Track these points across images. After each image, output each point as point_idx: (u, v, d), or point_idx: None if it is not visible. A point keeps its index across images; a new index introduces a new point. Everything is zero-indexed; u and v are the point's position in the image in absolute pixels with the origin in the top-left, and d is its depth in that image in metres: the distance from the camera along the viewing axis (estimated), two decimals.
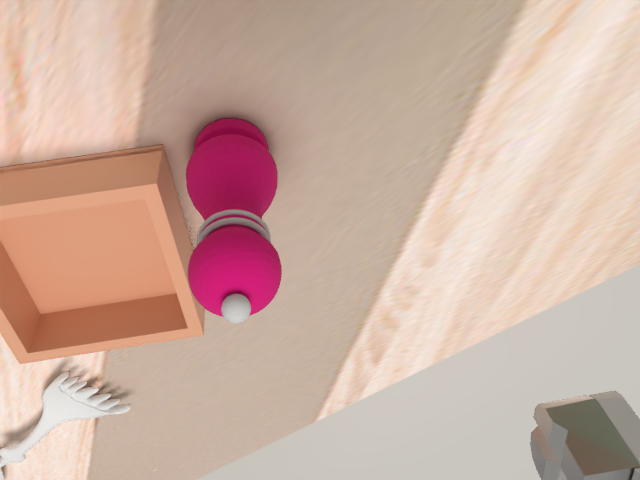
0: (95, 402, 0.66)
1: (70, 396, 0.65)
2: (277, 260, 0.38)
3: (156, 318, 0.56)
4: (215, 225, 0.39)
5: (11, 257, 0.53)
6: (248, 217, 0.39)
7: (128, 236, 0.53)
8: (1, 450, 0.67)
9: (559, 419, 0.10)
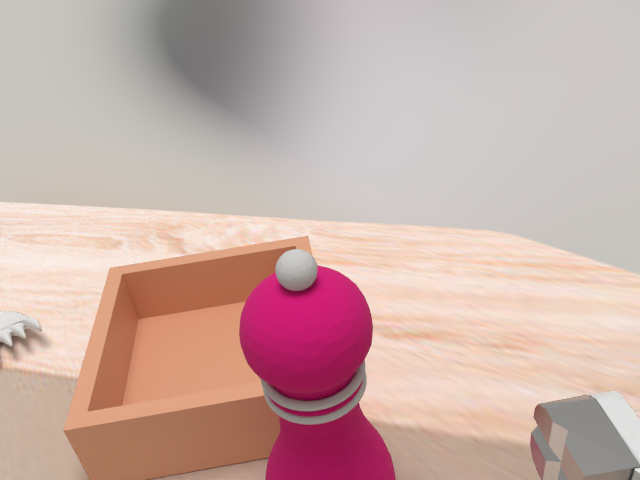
0: None
1: None
2: (331, 364, 0.24)
3: (105, 395, 0.41)
4: None
5: (221, 306, 0.52)
6: (359, 388, 0.27)
7: None
8: None
9: (559, 419, 0.10)
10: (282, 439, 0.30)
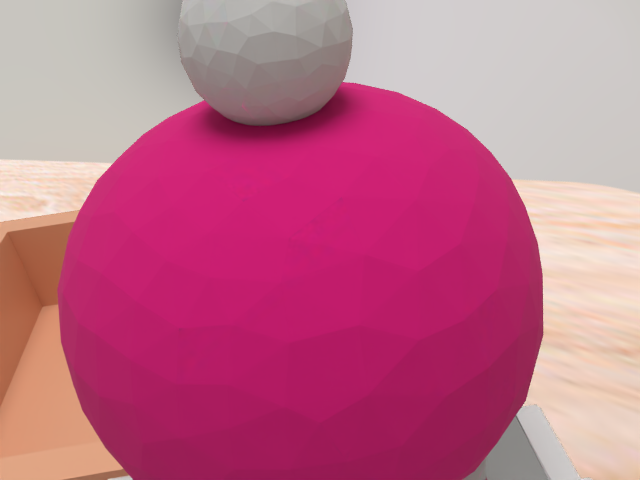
0: None
1: None
2: (420, 436, 0.05)
3: None
4: None
5: None
6: None
7: None
8: None
9: None
10: None
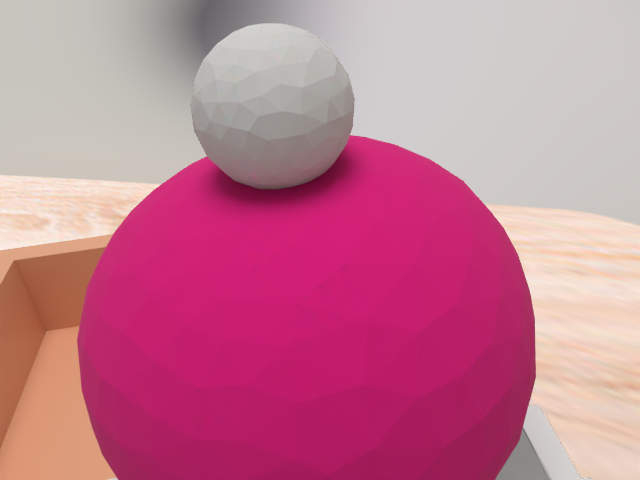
0: None
1: None
2: None
3: None
4: None
5: None
6: None
7: None
8: None
9: None
10: None
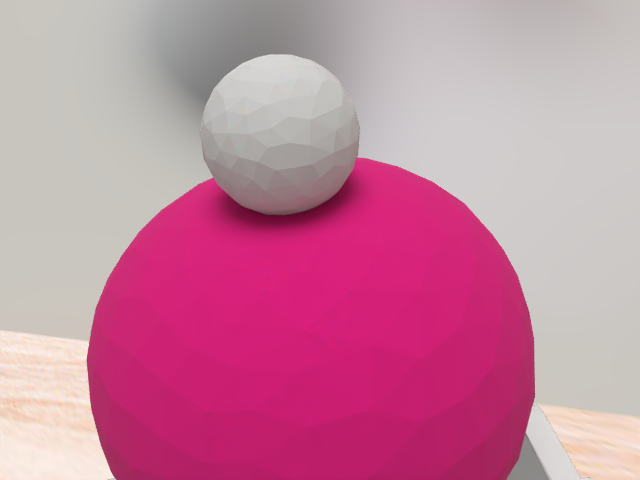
0: None
1: None
2: None
3: None
4: None
5: None
6: None
7: None
8: None
9: None
10: None
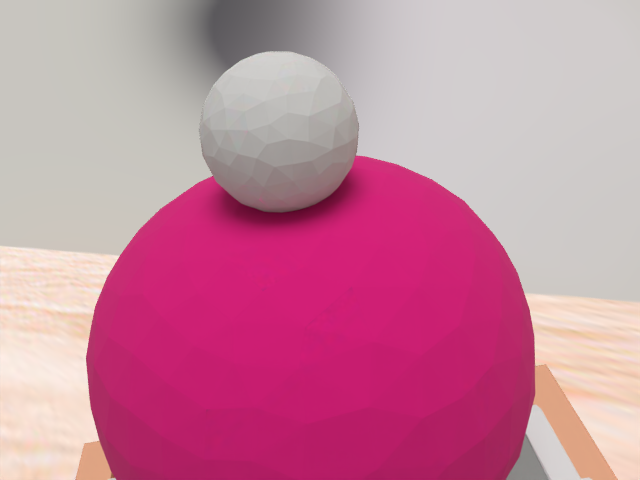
0: None
1: None
2: None
3: None
4: None
5: None
6: None
7: None
8: None
9: None
10: None
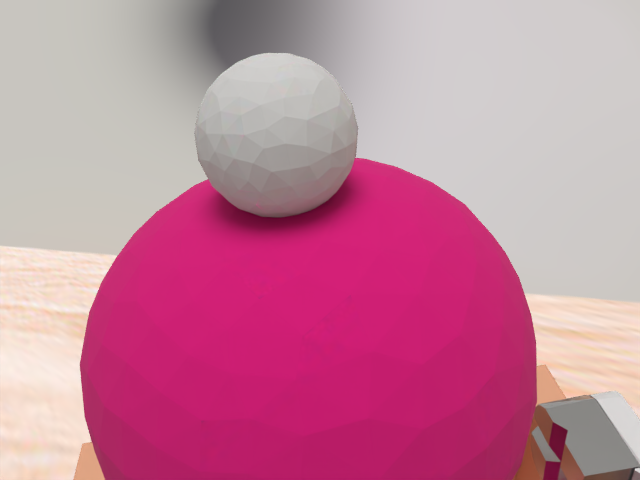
0: None
1: None
2: None
3: None
4: None
5: None
6: None
7: None
8: None
9: (559, 419, 0.10)
10: None
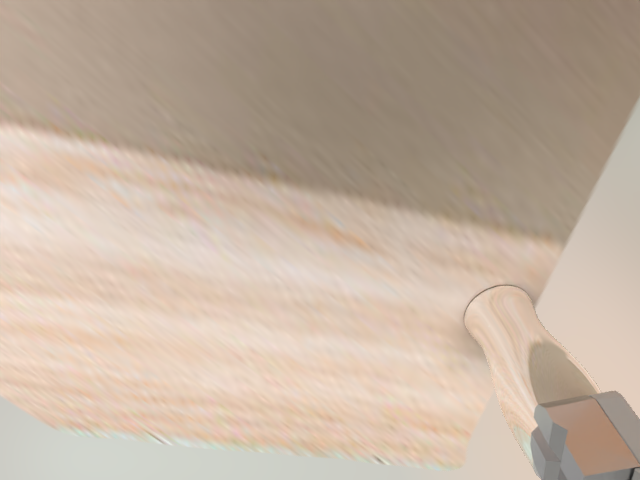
0: None
1: None
2: None
3: None
4: None
5: None
6: None
7: None
8: None
9: (559, 419, 0.10)
10: None
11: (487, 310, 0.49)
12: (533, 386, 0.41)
